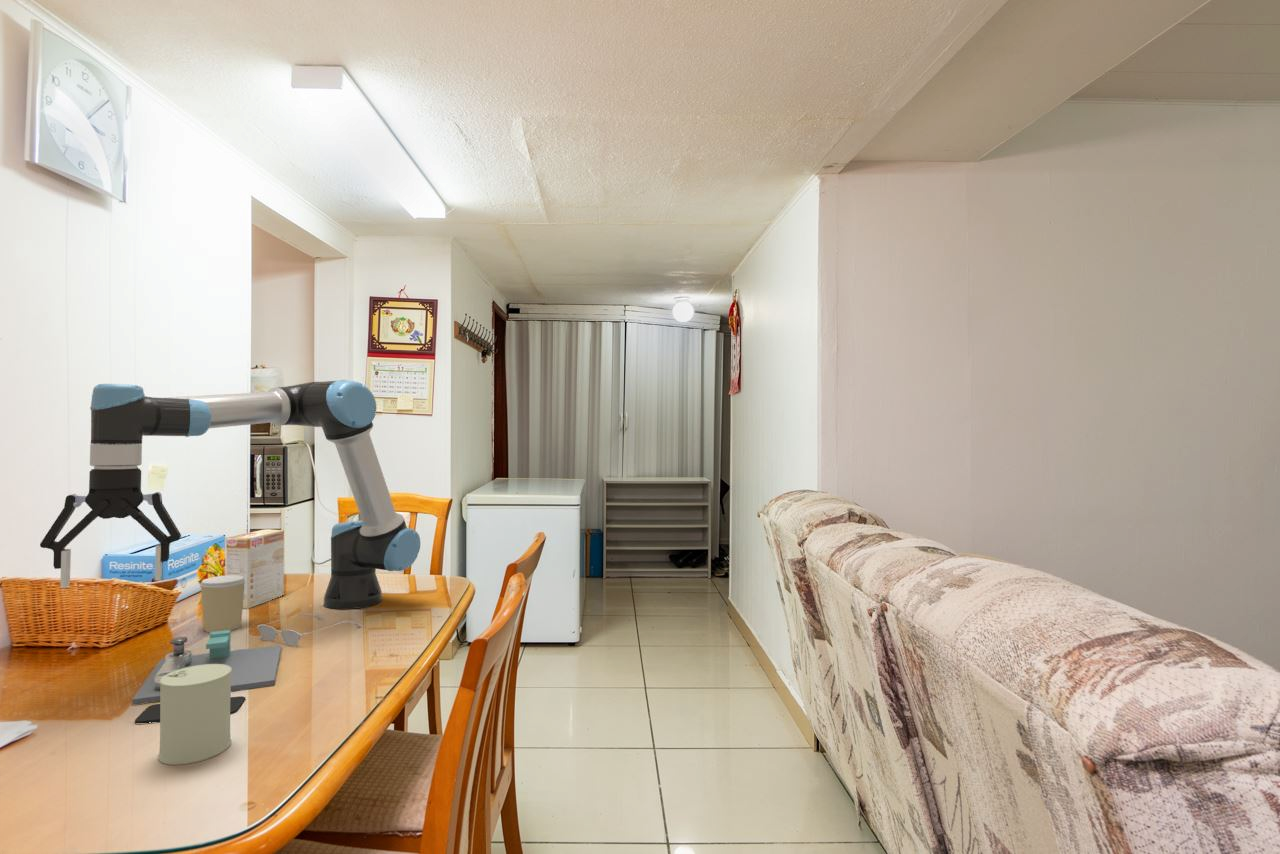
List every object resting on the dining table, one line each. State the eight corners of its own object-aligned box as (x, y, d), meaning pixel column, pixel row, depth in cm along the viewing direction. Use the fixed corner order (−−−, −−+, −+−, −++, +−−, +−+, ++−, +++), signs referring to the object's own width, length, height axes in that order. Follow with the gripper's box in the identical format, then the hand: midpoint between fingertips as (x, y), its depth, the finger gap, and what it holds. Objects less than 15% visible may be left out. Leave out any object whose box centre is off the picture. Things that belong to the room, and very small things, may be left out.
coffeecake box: (262, 595, 195) (263, 529, 195) (284, 595, 194) (285, 529, 194) (224, 608, 180) (224, 536, 180) (247, 609, 179) (248, 537, 179)
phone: (235, 711, 113) (132, 722, 109) (235, 716, 113) (131, 727, 109) (247, 695, 120) (150, 704, 116) (247, 700, 120) (150, 709, 116)
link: (167, 661, 134) (168, 637, 134) (193, 658, 136) (193, 634, 136) (148, 691, 119) (148, 663, 119) (177, 687, 121) (177, 659, 121)
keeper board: (281, 649, 147) (281, 622, 147) (274, 685, 126) (274, 653, 126) (161, 663, 137) (161, 634, 137) (131, 705, 116) (132, 671, 116)
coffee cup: (253, 623, 166) (253, 575, 166) (226, 634, 157) (227, 583, 157) (218, 621, 167) (219, 574, 167) (190, 632, 158) (190, 582, 158)
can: (182, 737, 105) (183, 661, 105) (243, 735, 105) (243, 659, 105) (143, 766, 95) (144, 683, 95) (210, 764, 96) (211, 681, 96)
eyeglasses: (255, 640, 154) (255, 623, 154) (322, 620, 170) (322, 605, 171) (300, 650, 148) (300, 632, 148) (365, 628, 164) (365, 612, 164)
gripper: (198, 466, 131) (196, 573, 131) (33, 467, 119) (29, 585, 119) (195, 467, 125) (192, 580, 124) (19, 469, 113) (15, 594, 112)
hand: (113, 582), depth 122 cm, fingers open, 13 cm apart
